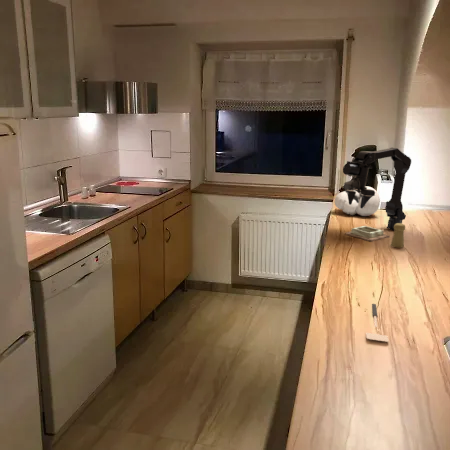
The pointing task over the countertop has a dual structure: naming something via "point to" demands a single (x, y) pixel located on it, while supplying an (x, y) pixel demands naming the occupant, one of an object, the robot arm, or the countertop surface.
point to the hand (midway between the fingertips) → (355, 206)
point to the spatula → (376, 336)
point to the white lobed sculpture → (357, 203)
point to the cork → (398, 236)
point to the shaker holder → (367, 233)
